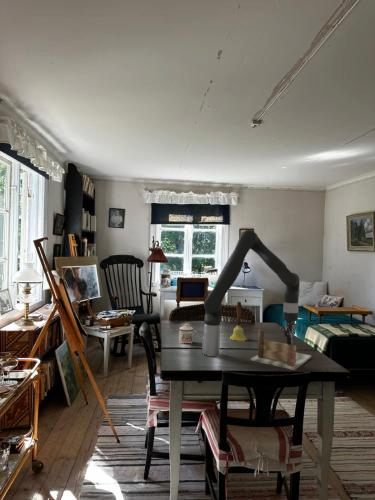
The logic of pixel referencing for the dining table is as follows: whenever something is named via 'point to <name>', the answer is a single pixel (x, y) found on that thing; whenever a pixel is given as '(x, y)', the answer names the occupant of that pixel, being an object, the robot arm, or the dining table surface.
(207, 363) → the dining table surface
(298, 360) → the towel on rod
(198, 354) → the dining table surface
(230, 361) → the dining table surface
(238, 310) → the handbell
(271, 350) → the wooden panel
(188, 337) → the teacup with lid
